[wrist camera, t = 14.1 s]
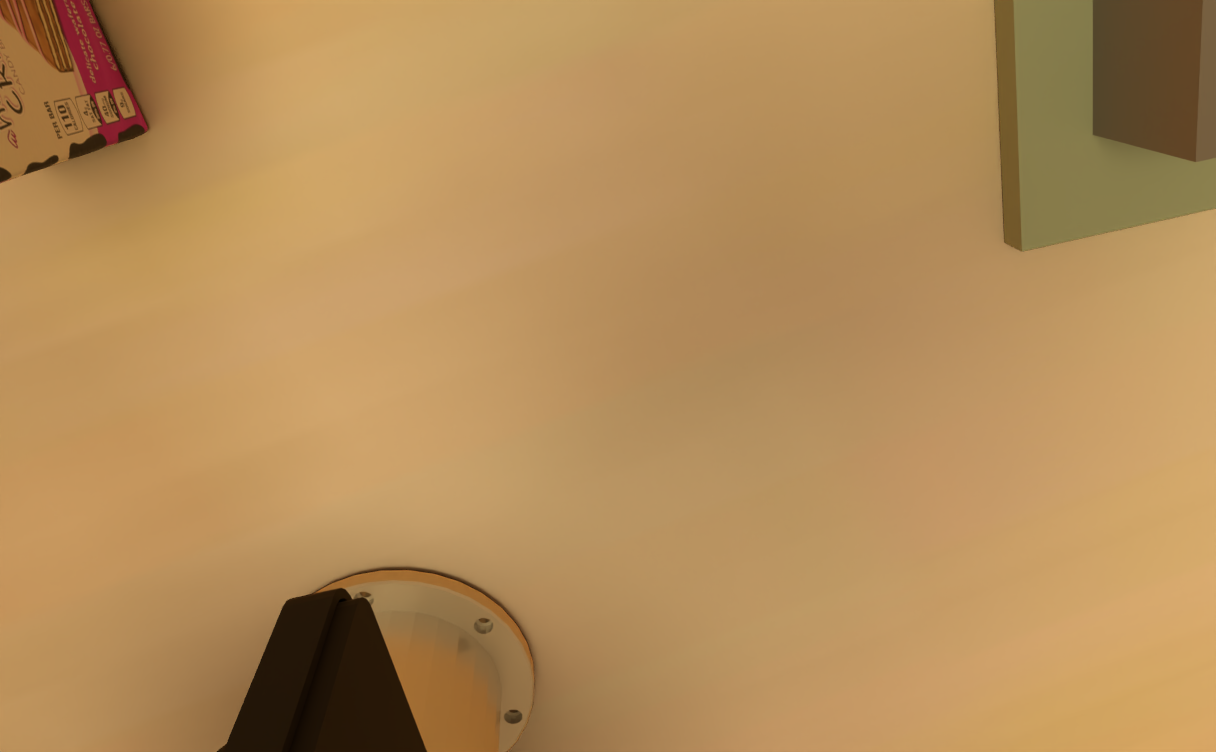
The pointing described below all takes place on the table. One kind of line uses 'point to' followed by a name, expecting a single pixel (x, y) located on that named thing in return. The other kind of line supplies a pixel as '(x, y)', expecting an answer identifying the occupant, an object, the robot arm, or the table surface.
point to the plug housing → (1156, 75)
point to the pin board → (1073, 138)
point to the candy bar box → (58, 86)
